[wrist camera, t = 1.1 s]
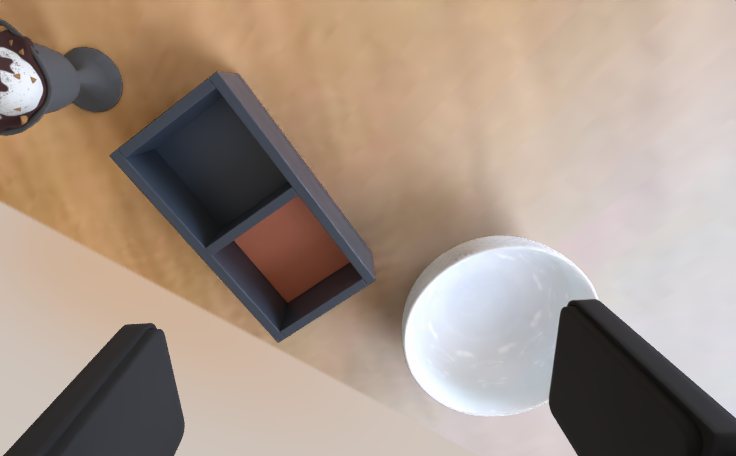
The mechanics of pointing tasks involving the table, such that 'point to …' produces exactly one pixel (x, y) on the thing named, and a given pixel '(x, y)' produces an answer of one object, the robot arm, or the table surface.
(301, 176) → the caddy
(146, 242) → the table surface
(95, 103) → the sundae
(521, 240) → the cereal bowl
